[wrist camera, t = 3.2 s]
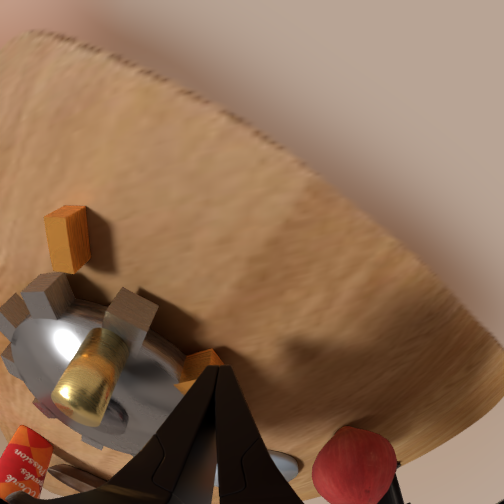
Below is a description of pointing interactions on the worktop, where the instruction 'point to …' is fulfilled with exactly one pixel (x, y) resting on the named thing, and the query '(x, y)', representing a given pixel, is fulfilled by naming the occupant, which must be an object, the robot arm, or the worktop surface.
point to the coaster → (278, 466)
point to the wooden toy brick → (68, 238)
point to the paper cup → (24, 463)
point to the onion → (354, 467)
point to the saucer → (75, 477)
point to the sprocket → (97, 362)
